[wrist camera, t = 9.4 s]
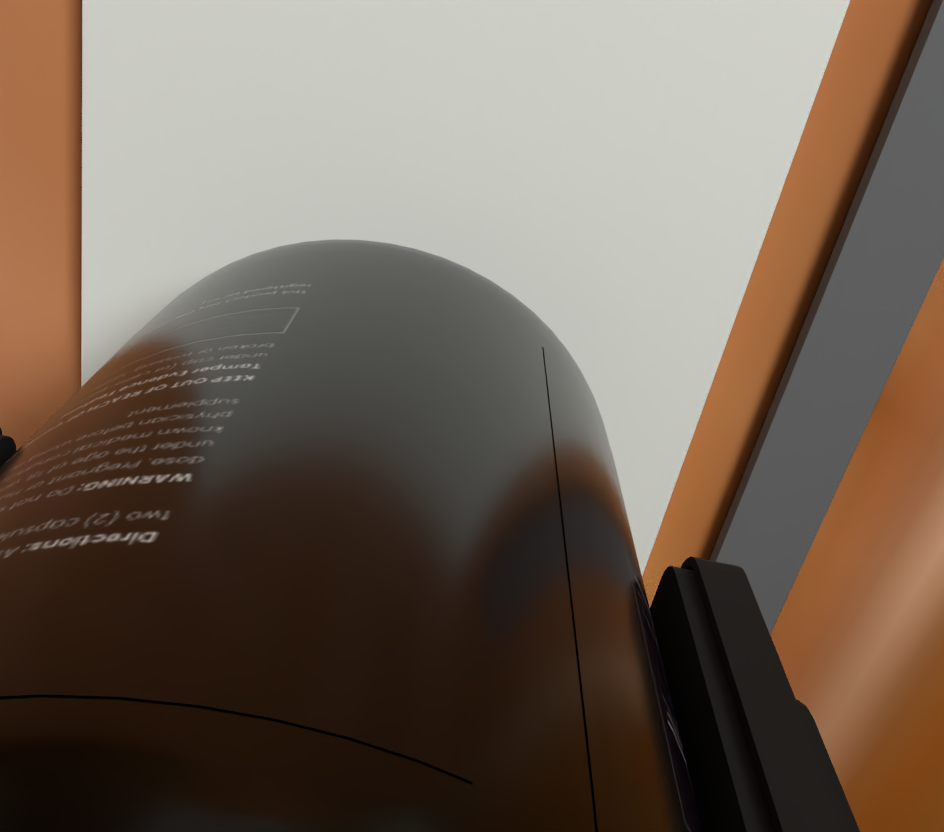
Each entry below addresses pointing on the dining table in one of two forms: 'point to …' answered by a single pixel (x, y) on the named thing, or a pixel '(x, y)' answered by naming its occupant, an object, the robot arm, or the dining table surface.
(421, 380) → the supplement bottle
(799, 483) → the white tile with strip
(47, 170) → the dining table surface
